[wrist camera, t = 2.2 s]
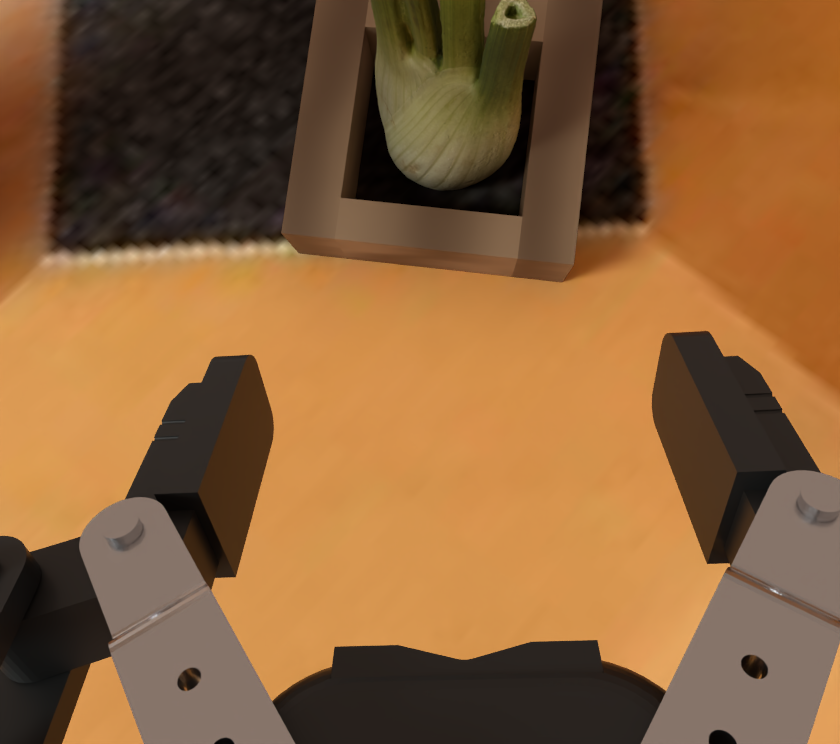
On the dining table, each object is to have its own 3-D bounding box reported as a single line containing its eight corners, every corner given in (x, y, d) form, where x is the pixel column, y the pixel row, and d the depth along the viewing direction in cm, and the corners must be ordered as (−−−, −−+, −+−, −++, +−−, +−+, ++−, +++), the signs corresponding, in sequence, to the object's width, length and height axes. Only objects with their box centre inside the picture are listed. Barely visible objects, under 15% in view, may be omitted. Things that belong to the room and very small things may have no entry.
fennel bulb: (523, 174, 30) (565, 0, 18) (431, 231, 30) (413, 95, 18) (455, 73, 30) (452, -160, 19) (365, 129, 30) (305, -68, 19)
